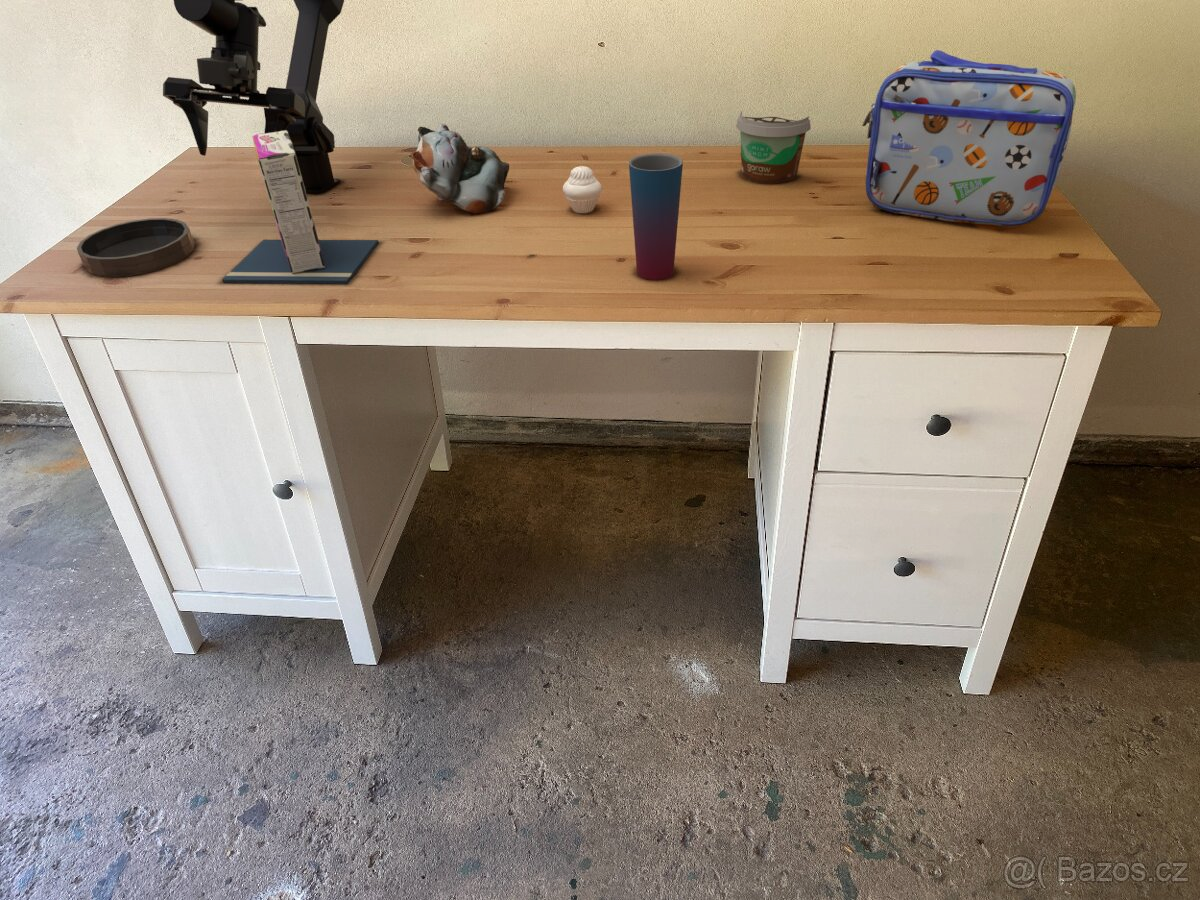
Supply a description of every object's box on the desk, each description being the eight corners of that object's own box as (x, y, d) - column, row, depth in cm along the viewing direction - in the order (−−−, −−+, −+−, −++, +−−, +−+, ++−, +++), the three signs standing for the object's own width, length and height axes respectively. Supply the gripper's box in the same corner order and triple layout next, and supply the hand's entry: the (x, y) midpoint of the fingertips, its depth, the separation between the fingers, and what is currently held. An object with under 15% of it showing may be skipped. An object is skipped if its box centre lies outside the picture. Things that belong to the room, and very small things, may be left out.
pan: (216, 241, 128) (210, 223, 126) (141, 282, 117) (133, 264, 115) (140, 230, 133) (133, 213, 131) (61, 270, 121) (52, 252, 120)
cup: (627, 263, 116) (625, 154, 107) (675, 260, 116) (678, 151, 107) (633, 284, 111) (631, 172, 102) (684, 281, 111) (687, 168, 102)
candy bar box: (282, 247, 124) (250, 134, 114) (316, 241, 125) (288, 128, 116) (290, 276, 116) (256, 156, 106) (326, 269, 117) (296, 150, 107)
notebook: (378, 242, 125) (377, 239, 125) (347, 283, 114) (346, 280, 114) (264, 242, 127) (263, 239, 127) (222, 282, 116) (221, 279, 116)
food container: (725, 182, 141) (728, 120, 135) (734, 170, 145) (738, 110, 139) (798, 189, 137) (804, 126, 131) (805, 176, 141) (812, 115, 135)
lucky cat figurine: (498, 217, 131) (445, 145, 122) (440, 239, 137) (385, 172, 128) (520, 160, 140) (472, 89, 131) (464, 183, 146) (414, 116, 137)
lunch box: (845, 211, 128) (867, 57, 115) (862, 190, 135) (885, 42, 122) (1039, 239, 117) (1088, 72, 104) (1046, 214, 124) (1093, 55, 111)
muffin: (572, 201, 136) (569, 158, 132) (607, 204, 134) (606, 161, 130) (558, 215, 131) (555, 170, 127) (594, 218, 130) (592, 173, 126)
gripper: (144, 20, 113) (143, 139, 115) (283, 35, 114) (279, 152, 116) (181, 48, 124) (179, 156, 126) (307, 61, 125) (304, 168, 127)
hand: (234, 158), depth 124 cm, fingers open, 9 cm apart
